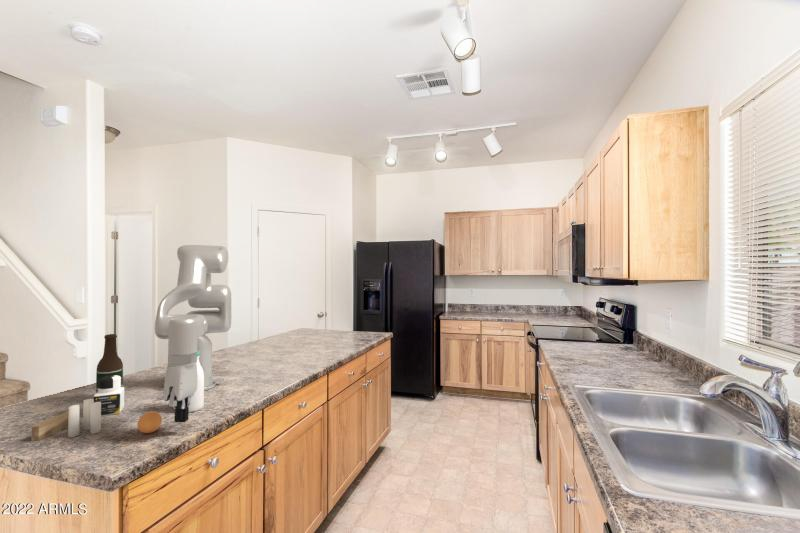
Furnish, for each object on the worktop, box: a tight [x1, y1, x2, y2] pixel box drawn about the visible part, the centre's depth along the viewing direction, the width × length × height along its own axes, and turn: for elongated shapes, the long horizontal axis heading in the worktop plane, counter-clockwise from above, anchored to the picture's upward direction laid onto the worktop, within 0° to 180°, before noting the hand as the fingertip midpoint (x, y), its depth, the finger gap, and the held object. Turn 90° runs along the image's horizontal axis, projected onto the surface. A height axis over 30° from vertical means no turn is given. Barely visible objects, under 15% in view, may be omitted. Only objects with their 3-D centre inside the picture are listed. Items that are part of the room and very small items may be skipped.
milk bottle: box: [187, 351, 205, 413], centre depth 128 cm, size 8×8×20 cm
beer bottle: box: [95, 333, 124, 394], centre depth 137 cm, size 8×8×24 cm
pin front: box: [89, 402, 102, 435], centre depth 110 cm, size 2×2×8 cm
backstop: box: [31, 410, 69, 442], centre depth 109 cm, size 2×12×4 cm, turn 1°
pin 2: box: [82, 398, 94, 431], centre depth 112 cm, size 2×2×8 cm
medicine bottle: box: [93, 375, 125, 417], centre depth 125 cm, size 7×7×12 cm
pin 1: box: [67, 404, 81, 438], centre depth 107 cm, size 2×2×8 cm
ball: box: [136, 410, 163, 434], centre depth 110 cm, size 6×6×6 cm
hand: (181, 421), depth 109 cm, fingers closed
